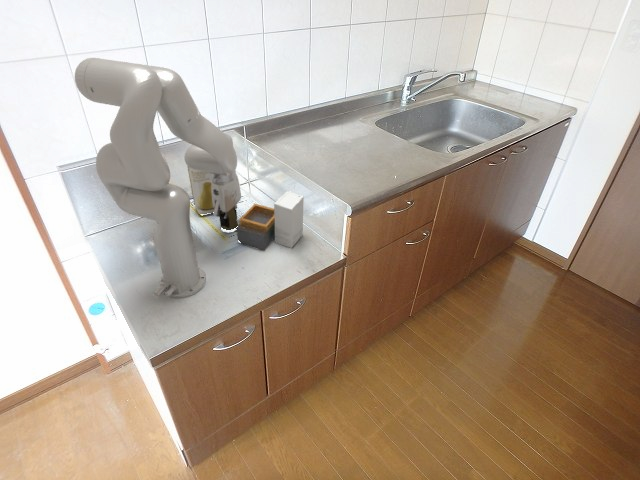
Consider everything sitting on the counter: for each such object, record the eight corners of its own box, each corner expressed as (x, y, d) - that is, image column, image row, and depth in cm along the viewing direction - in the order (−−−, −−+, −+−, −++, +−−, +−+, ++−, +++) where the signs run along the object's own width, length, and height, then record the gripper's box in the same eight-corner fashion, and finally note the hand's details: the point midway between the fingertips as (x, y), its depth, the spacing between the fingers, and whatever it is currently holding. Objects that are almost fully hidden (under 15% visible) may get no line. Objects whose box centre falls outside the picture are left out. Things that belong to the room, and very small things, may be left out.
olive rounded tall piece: (221, 234, 135) (217, 206, 129) (219, 223, 140) (216, 196, 133) (239, 231, 137) (237, 203, 130) (237, 221, 141) (234, 194, 135)
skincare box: (287, 229, 139) (286, 189, 129) (304, 235, 137) (305, 195, 127) (274, 243, 133) (272, 202, 123) (292, 249, 131) (292, 208, 121)
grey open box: (264, 250, 130) (263, 230, 125) (238, 242, 132) (235, 222, 127) (283, 226, 140) (283, 207, 135) (258, 220, 143) (257, 200, 138)
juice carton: (198, 218, 142) (187, 155, 127) (193, 207, 147) (182, 144, 132) (225, 213, 145) (217, 150, 130) (219, 201, 151) (211, 140, 136)
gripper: (218, 189, 119) (225, 239, 130) (247, 164, 131) (251, 212, 142) (196, 183, 121) (204, 233, 132) (227, 160, 133) (232, 207, 144)
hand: (228, 222), depth 137 cm, fingers closed on olive rounded tall piece, 4 cm apart
